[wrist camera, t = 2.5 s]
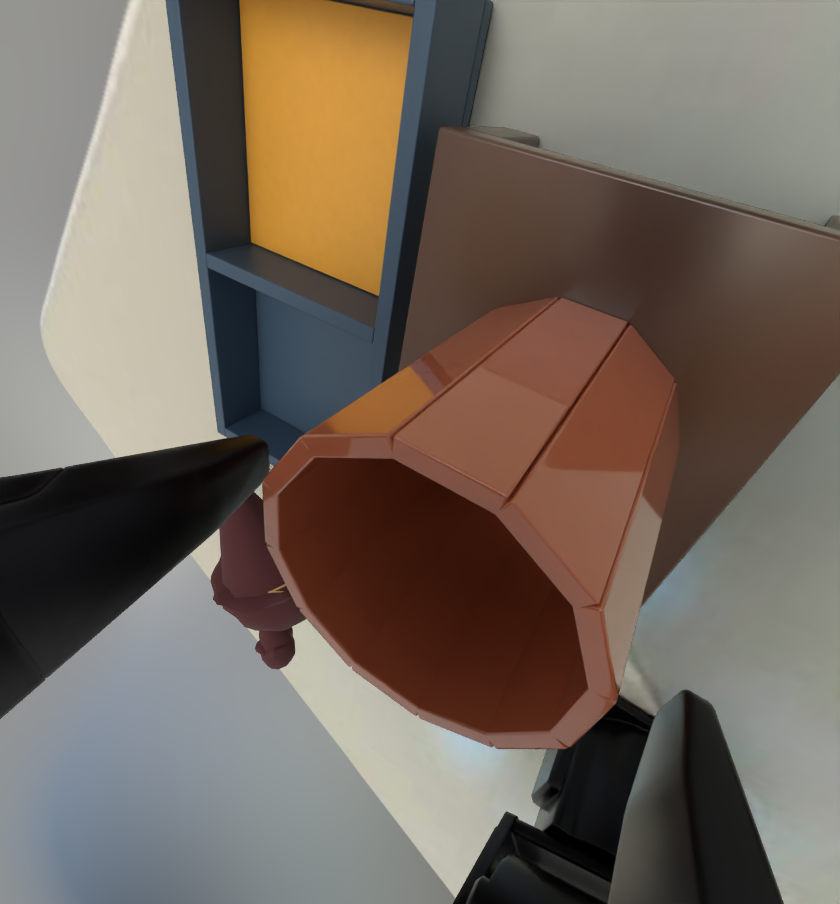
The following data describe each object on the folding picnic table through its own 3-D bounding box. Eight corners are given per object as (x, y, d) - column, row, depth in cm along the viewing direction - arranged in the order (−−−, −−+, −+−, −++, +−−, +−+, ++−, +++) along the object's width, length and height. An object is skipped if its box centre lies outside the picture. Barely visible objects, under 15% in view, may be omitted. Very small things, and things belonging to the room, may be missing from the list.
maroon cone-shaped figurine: (131, 480, 25) (238, 647, 33) (183, 537, 20) (293, 716, 29) (247, 420, 29) (317, 584, 37) (314, 457, 24) (378, 636, 32)
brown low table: (889, 229, 11) (936, 262, 8) (645, 552, 19) (624, 628, 16) (503, 126, 14) (438, 124, 11) (428, 440, 22) (377, 487, 19)
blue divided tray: (493, 1, 13) (440, -26, 11) (396, 485, 24) (361, 519, 22) (238, -44, 16) (156, -73, 13) (260, 408, 27) (217, 432, 25)
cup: (738, 362, 10) (718, 607, 5) (609, 551, 14) (523, 795, 9) (473, 264, 12) (254, 362, 7) (426, 454, 16) (267, 609, 11)
